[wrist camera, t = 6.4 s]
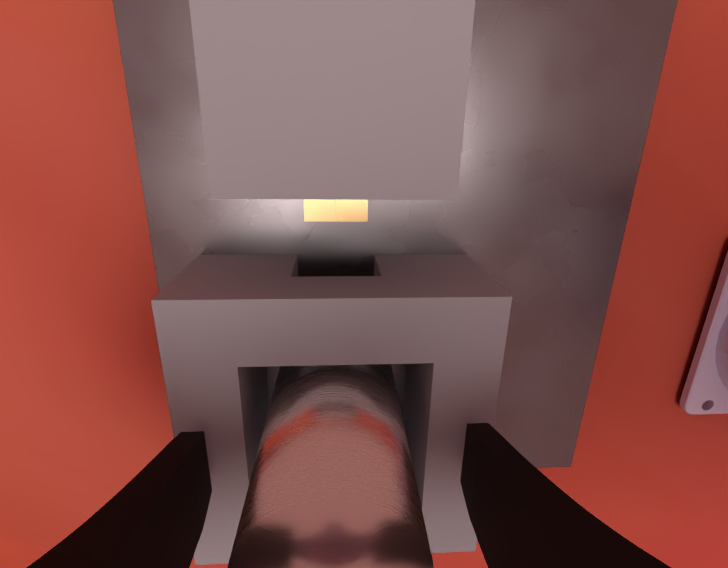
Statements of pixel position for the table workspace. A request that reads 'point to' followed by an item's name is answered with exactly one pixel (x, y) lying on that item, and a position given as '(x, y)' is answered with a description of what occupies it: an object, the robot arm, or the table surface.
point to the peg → (333, 476)
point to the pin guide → (333, 97)
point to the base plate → (475, 192)
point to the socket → (332, 347)
